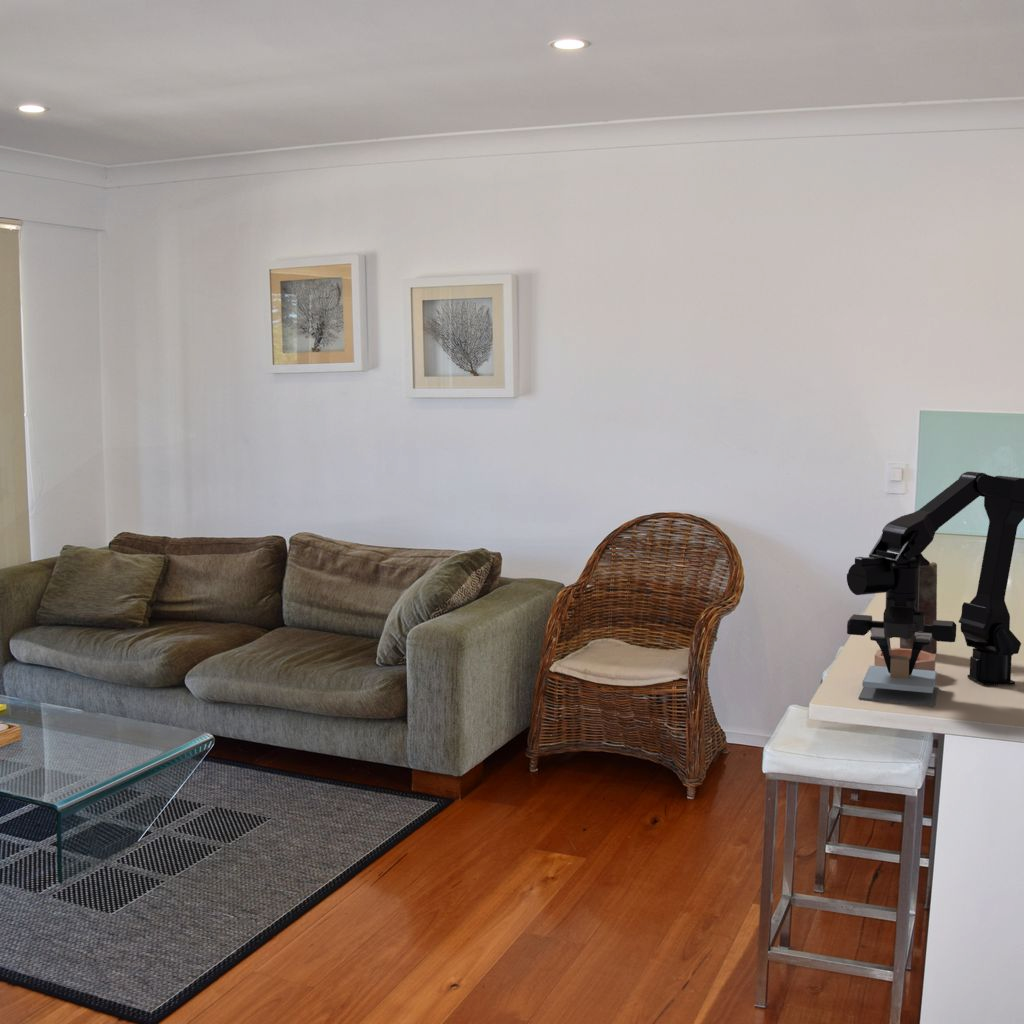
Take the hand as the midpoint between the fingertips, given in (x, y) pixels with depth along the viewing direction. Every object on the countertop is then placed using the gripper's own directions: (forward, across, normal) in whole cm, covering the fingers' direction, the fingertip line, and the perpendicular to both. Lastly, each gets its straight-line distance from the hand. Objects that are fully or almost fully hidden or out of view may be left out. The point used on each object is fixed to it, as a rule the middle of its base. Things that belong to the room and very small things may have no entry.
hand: (900, 673), depth 206 cm
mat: (+4, 0, 0) cm, 4 cm away
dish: (+4, 0, +14) cm, 14 cm away
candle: (+4, +1, +32) cm, 32 cm away
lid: (+2, 0, 0) cm, 2 cm away
